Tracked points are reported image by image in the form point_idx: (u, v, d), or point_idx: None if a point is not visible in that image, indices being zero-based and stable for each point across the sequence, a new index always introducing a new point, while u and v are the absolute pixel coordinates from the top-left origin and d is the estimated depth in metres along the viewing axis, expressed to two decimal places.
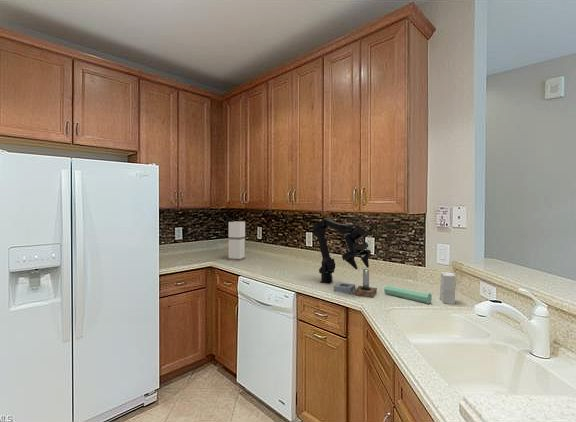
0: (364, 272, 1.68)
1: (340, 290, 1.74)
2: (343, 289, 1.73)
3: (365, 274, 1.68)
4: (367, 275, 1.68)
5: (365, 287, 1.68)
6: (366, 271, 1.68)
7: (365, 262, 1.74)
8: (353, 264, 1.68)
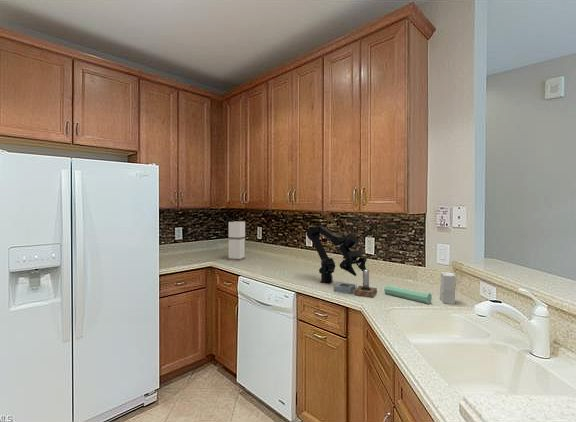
0: (364, 272, 1.68)
1: (340, 290, 1.74)
2: (343, 289, 1.73)
3: (365, 274, 1.68)
4: (367, 275, 1.68)
5: (365, 287, 1.68)
6: (366, 271, 1.68)
7: None
8: (351, 271, 1.71)
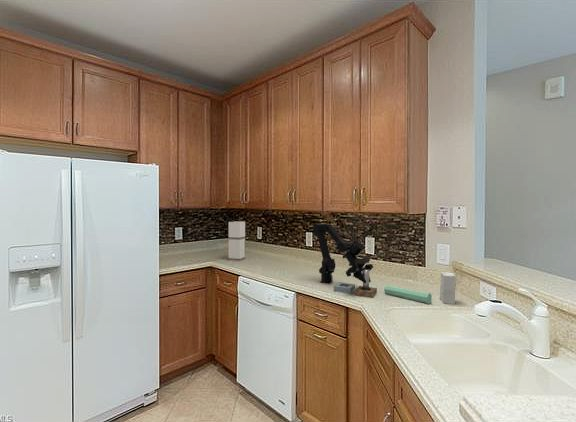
0: (364, 272, 1.68)
1: (340, 290, 1.74)
2: (343, 289, 1.73)
3: (365, 274, 1.68)
4: (367, 275, 1.68)
5: (365, 287, 1.68)
6: (366, 271, 1.68)
7: None
8: (361, 278, 1.68)
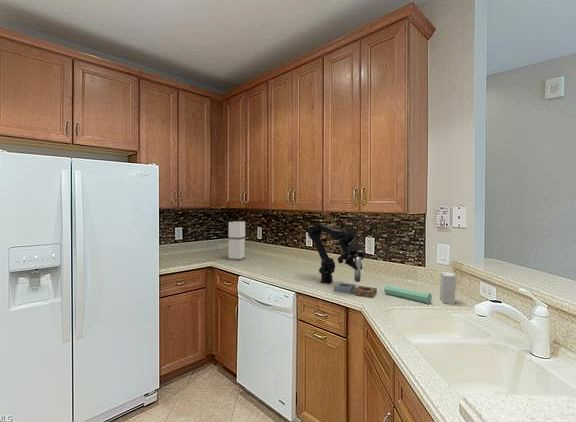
0: (356, 259, 1.71)
1: (340, 290, 1.74)
2: (343, 289, 1.73)
3: (357, 261, 1.71)
4: (359, 262, 1.70)
5: (356, 274, 1.71)
6: (358, 258, 1.70)
7: None
8: (353, 265, 1.71)
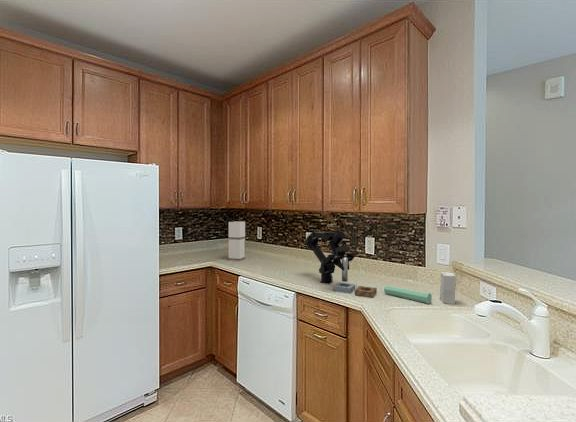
0: (342, 259, 1.76)
1: (340, 290, 1.74)
2: (343, 289, 1.73)
3: (343, 261, 1.76)
4: (345, 262, 1.76)
5: (343, 274, 1.76)
6: (344, 259, 1.76)
7: None
8: (340, 265, 1.77)
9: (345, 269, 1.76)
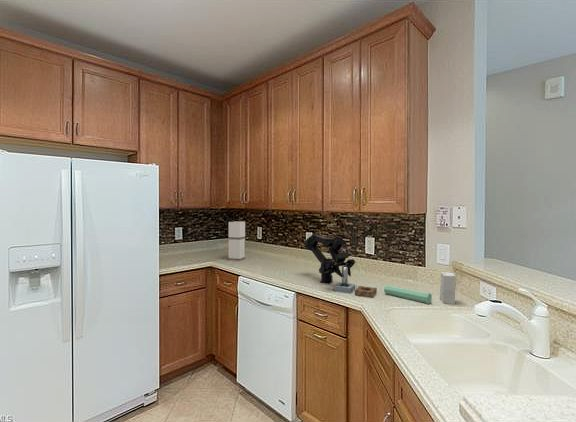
0: (342, 269, 1.77)
1: (340, 290, 1.74)
2: (343, 289, 1.73)
3: (343, 271, 1.76)
4: (345, 272, 1.76)
5: (343, 283, 1.76)
6: (344, 268, 1.76)
7: None
8: (338, 272, 1.76)
9: (345, 278, 1.76)
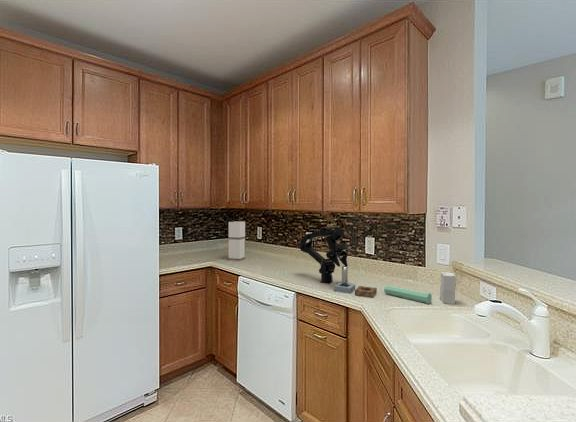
0: (342, 269, 1.77)
1: (340, 290, 1.74)
2: (343, 289, 1.73)
3: (343, 271, 1.76)
4: (345, 272, 1.76)
5: (343, 283, 1.76)
6: (344, 268, 1.76)
7: (344, 262, 1.89)
8: (336, 261, 1.81)
9: (345, 278, 1.76)
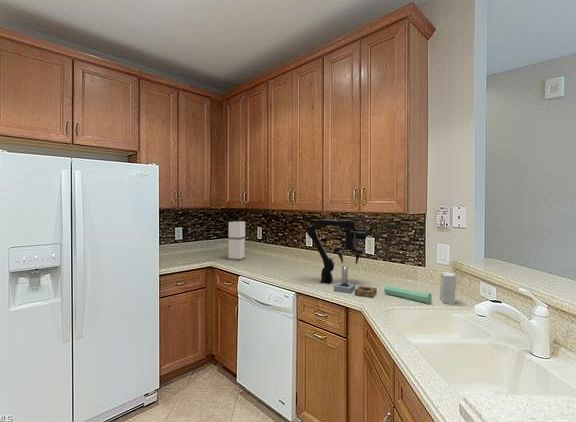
0: (342, 269, 1.77)
1: (340, 290, 1.74)
2: (343, 289, 1.73)
3: (343, 271, 1.76)
4: (345, 272, 1.76)
5: (343, 283, 1.76)
6: (344, 268, 1.76)
7: (342, 258, 1.94)
8: (358, 259, 1.90)
9: (345, 278, 1.76)
